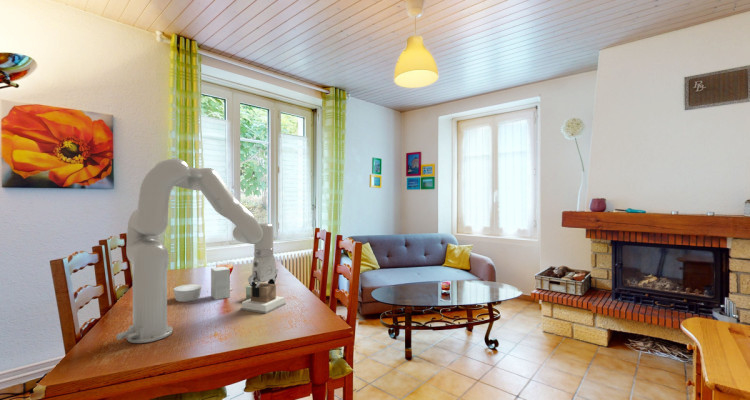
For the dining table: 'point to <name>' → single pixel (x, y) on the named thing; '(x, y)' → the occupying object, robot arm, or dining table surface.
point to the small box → (220, 282)
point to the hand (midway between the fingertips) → (263, 293)
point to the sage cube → (248, 292)
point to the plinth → (263, 305)
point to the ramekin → (187, 292)
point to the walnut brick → (265, 293)
